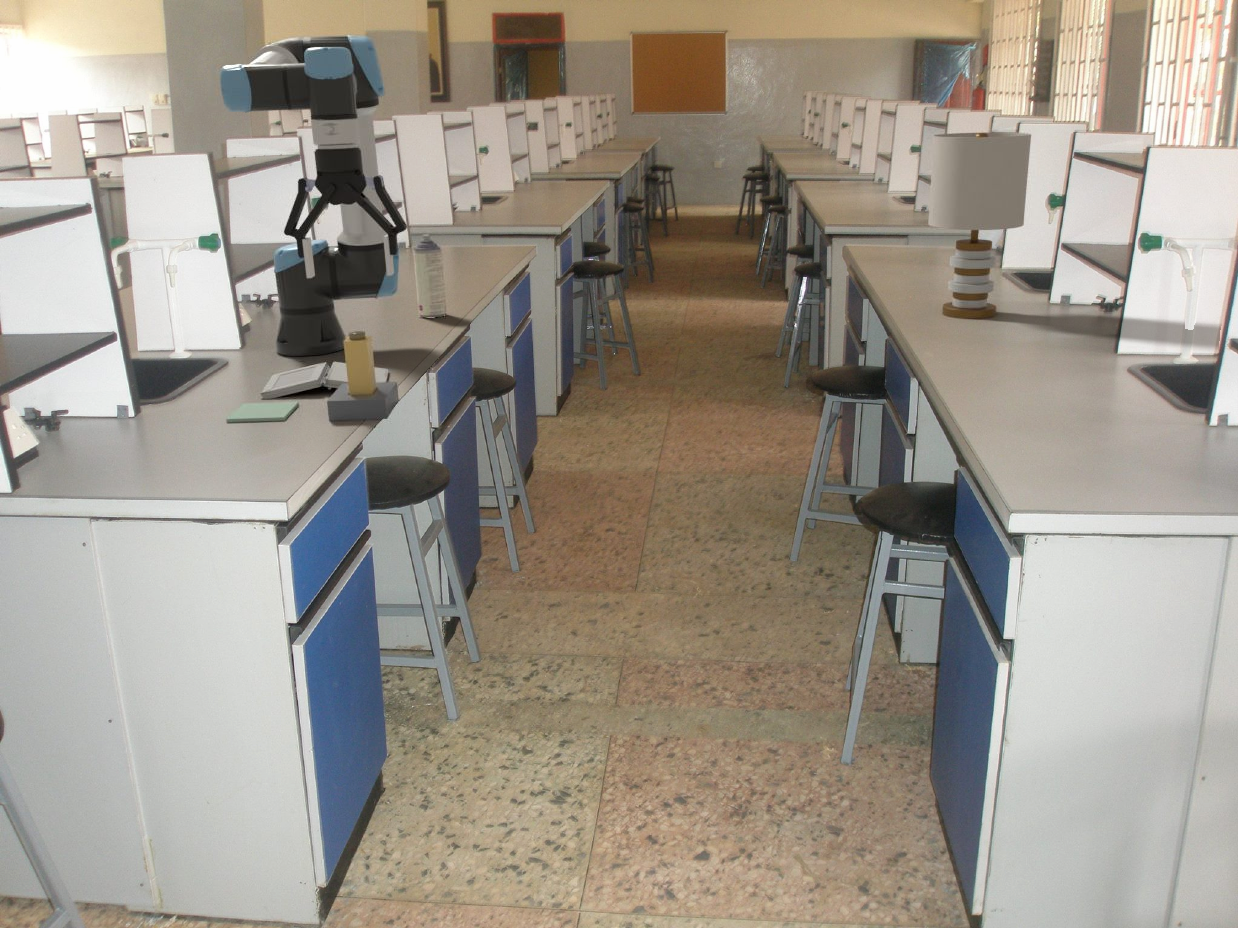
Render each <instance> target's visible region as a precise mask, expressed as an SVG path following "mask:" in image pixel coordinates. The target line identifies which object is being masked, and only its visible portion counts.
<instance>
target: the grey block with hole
mask: <svg viewBox="0 0 1238 928" xmlns="http://www.w3.org/2000/svg"><path fill="white" fill-rule="evenodd" d="M376 389H377V390H376V392H375V393H374V394H364V395H349V387H348V383H344V384H341V385H340V387H339V388H336V389H335V391H334V392H333V393H332V394H331V396H330V397H329V398H328V399H327V400H326V404H327V413H328V421H333V422H334V421H360V420H361V421H362V420H388V418H389V417H390V415H391V414H392V412H393V411H394V409H395V407H396V405H397V404H398V402H399V400H400V398H399V387H398V381H386V382H376Z"/></svg>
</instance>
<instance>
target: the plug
mask: <svg viewBox="0 0 1238 928" xmlns="http://www.w3.org/2000/svg"><path fill="white" fill-rule="evenodd" d="M372 340H373V339H372V335H366V332H365V331H363V330H361V331H360V330H359V331H358V330H357V331H350V332H348V336H347V337H346V339H345V340H344V349H343V350H344V357H345V363H346V369H347V378H348V387H349V395H364V394H374V393H375V392H376V390H377V389H376V379H375V369H374V367H375V362H374V361H375V360H374V352H373V342H372Z"/></svg>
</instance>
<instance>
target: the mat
mask: <svg viewBox="0 0 1238 928" xmlns="http://www.w3.org/2000/svg"><path fill="white" fill-rule="evenodd" d="M299 405H300V404H299V401H288V402H287V401H285V402H284V401H281V402H280V401H279V402H252V403H251V402H250V403H247V402H246V403H242V404H241V405H240V406H238V408H237V409H236V410H234V411H233V412H232V413H231V414H230V415H229V416H228V417H227V418H226V419H225V420H226V423H247V422H248V423H249V422H250V423H252V422H278V421H279V422H281V421H282V422H283V421H286V420H287V418H288V417H289V416H290V415H291V414H292V413H293V412H294V411H295V410H296V409H297V408H298V406H299Z"/></svg>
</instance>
